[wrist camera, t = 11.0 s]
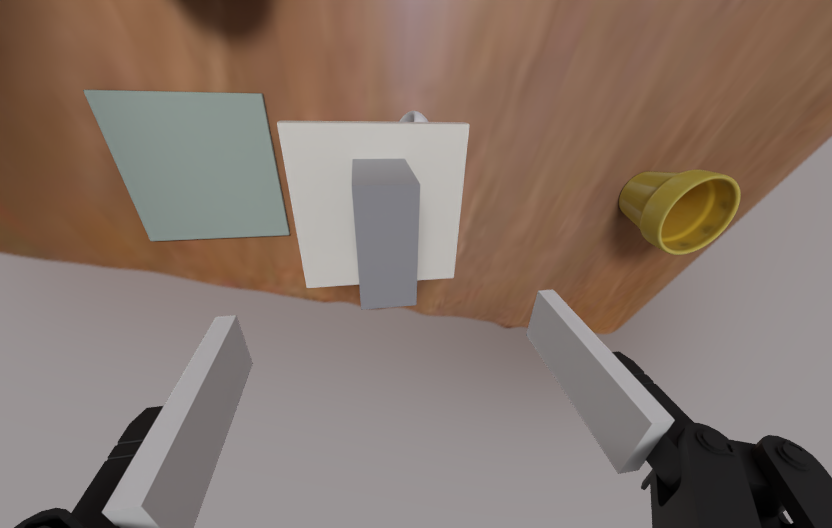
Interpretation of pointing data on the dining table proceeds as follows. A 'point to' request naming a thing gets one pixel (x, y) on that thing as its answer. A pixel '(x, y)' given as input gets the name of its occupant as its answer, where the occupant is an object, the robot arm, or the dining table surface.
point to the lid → (376, 203)
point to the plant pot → (680, 207)
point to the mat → (194, 162)
